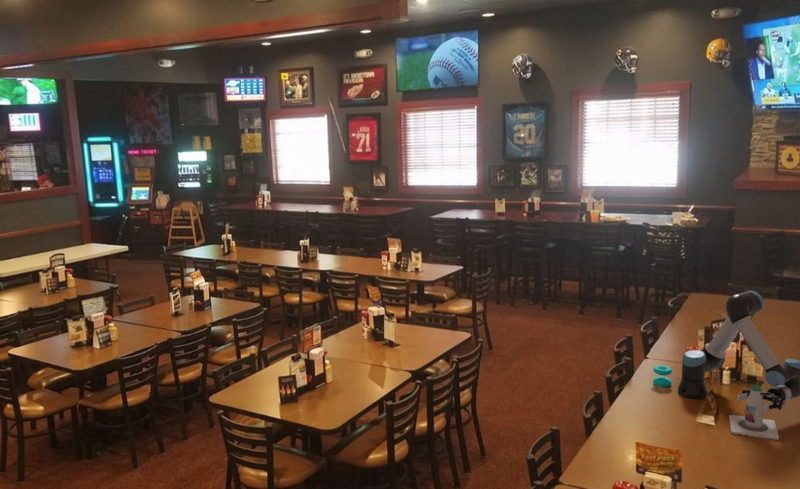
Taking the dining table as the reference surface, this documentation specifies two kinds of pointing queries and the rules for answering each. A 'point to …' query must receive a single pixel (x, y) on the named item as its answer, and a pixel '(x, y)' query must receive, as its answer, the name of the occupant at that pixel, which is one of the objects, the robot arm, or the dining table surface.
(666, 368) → the donuts
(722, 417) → the dining table surface
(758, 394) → the milk bottle
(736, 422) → the board
